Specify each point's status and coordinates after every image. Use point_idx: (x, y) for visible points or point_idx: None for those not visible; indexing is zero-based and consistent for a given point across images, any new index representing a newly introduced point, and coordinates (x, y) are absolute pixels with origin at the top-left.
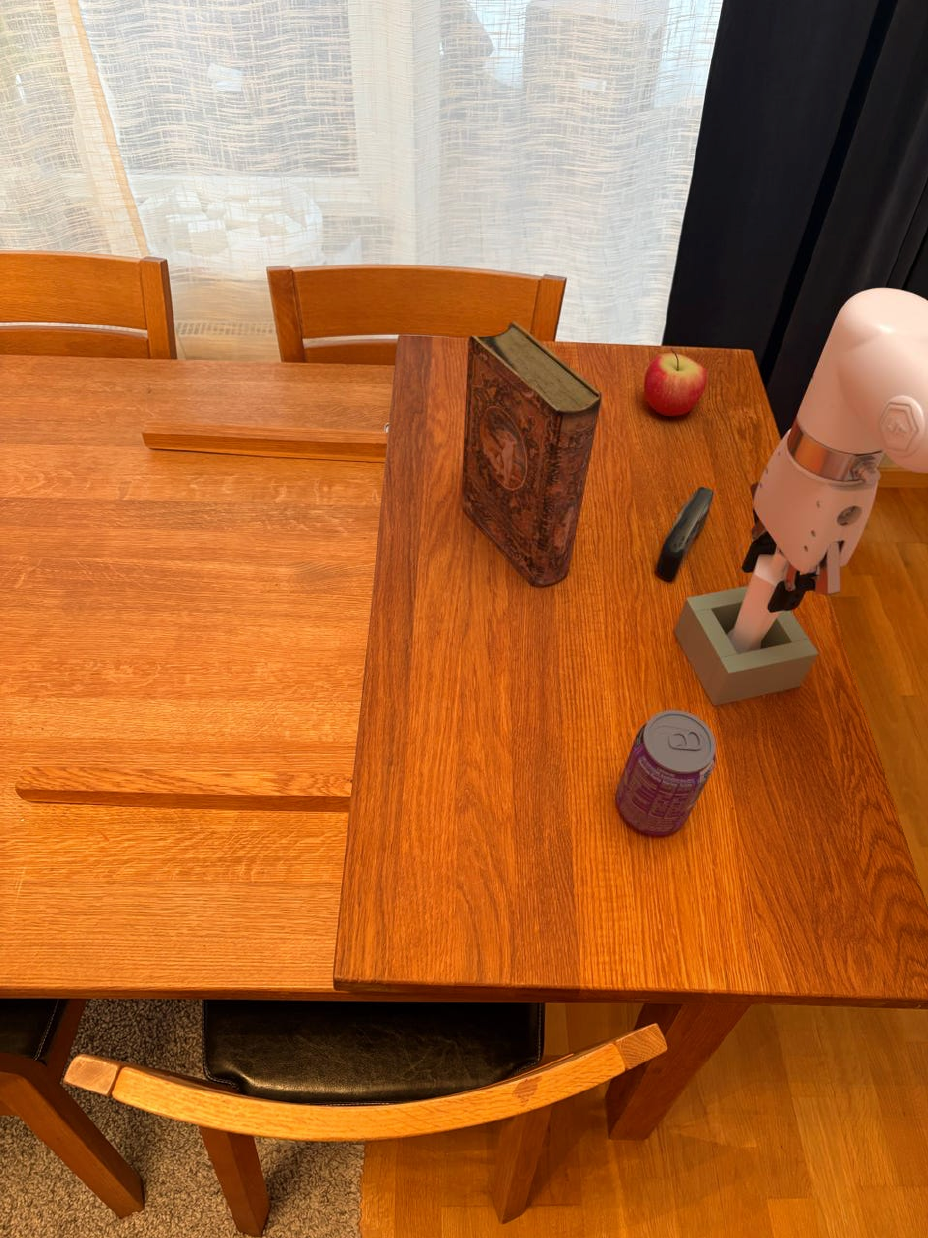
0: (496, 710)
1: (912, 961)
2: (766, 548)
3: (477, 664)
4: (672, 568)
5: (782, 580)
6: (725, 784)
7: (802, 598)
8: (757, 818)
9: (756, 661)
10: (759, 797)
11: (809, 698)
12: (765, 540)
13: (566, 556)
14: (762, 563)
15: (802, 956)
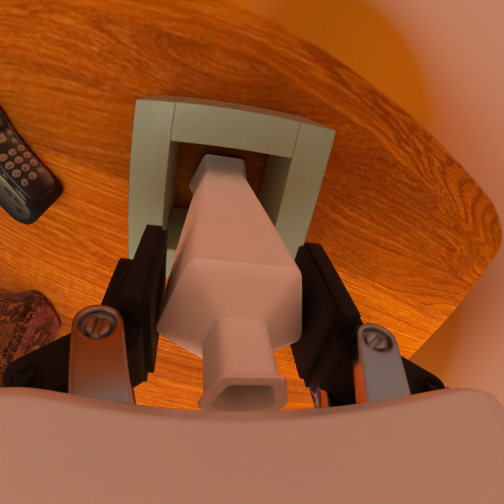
0: (191, 391)
1: (499, 233)
2: (153, 337)
3: (143, 388)
4: (50, 205)
5: (285, 341)
6: (353, 278)
7: (329, 260)
8: (392, 269)
9: (294, 242)
10: (381, 257)
11: (326, 117)
12: (142, 371)
13: (37, 332)
14: (200, 353)
15: (456, 292)
